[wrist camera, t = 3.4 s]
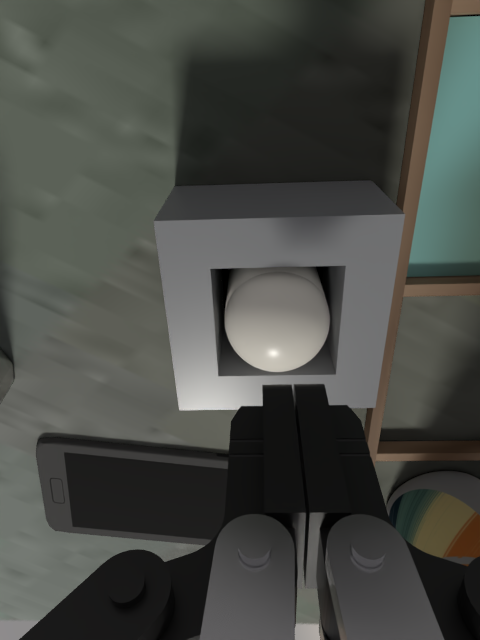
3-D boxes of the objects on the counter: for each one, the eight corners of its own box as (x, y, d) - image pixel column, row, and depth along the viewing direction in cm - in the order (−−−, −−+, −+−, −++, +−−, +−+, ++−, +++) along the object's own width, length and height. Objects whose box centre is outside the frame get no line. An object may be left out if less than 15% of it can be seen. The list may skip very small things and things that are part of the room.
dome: (319, 236, 16) (342, 295, 12) (315, 317, 18) (334, 393, 14) (226, 238, 16) (218, 298, 12) (230, 319, 18) (224, 394, 14)
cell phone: (37, 429, 23) (31, 440, 22) (306, 457, 23) (308, 468, 23) (51, 519, 26) (46, 531, 26) (283, 541, 27) (283, 553, 26)
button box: (371, 180, 16) (405, 214, 12) (353, 345, 19) (375, 407, 16) (174, 186, 16) (153, 220, 13) (192, 348, 20) (179, 410, 16)
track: (745, -19, 13) (773, -23, 12) (498, 555, 27) (504, 568, 26) (426, -4, 13) (436, -8, 12) (346, 555, 27) (348, 568, 26)
